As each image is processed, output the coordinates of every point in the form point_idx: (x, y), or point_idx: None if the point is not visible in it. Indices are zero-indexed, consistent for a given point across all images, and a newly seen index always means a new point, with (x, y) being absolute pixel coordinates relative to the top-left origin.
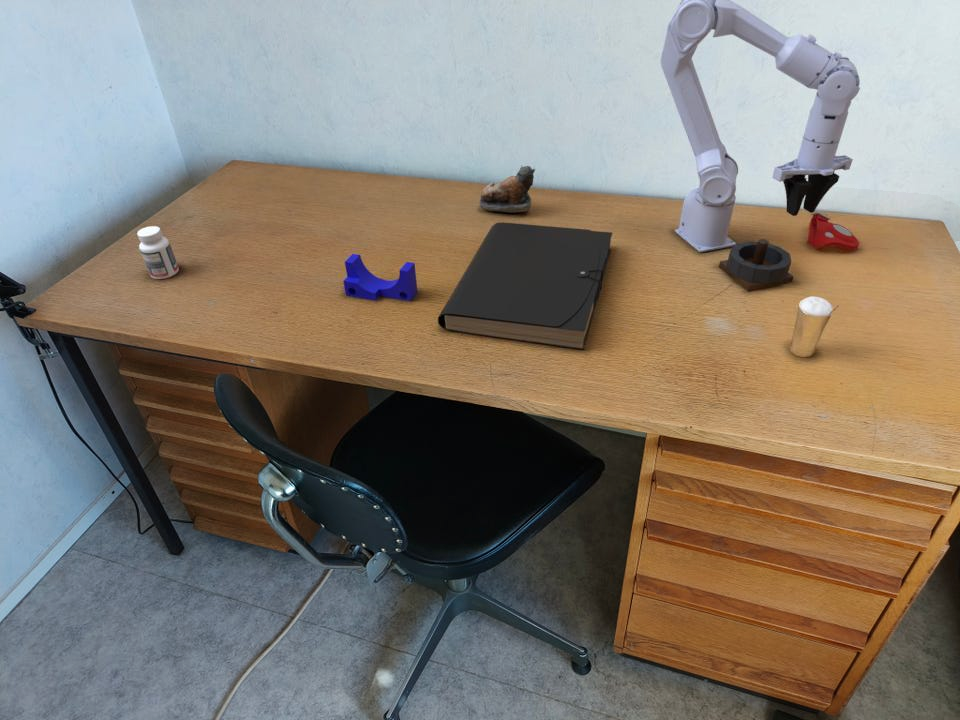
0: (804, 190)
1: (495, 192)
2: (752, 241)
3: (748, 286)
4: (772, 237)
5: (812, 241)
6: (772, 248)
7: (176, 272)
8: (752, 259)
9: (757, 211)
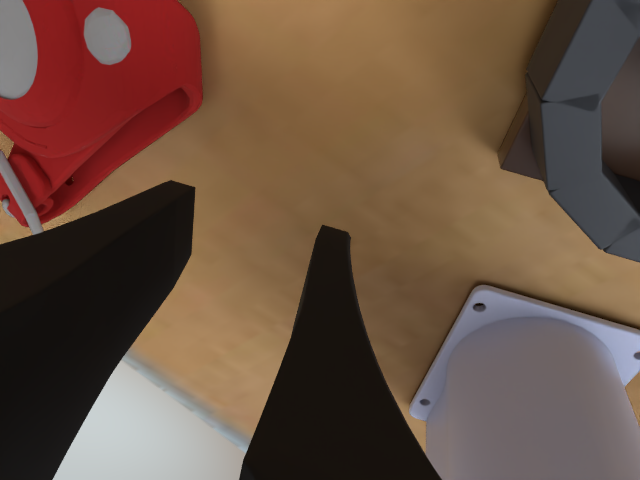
0: (337, 414)
1: None
2: (599, 240)
3: None
4: (279, 233)
5: (197, 79)
6: (601, 116)
7: None
8: (617, 155)
9: (180, 358)
